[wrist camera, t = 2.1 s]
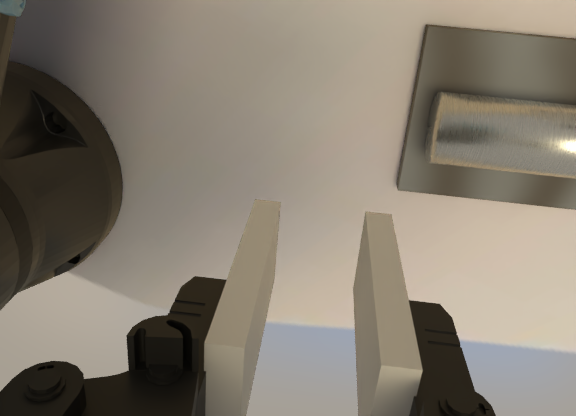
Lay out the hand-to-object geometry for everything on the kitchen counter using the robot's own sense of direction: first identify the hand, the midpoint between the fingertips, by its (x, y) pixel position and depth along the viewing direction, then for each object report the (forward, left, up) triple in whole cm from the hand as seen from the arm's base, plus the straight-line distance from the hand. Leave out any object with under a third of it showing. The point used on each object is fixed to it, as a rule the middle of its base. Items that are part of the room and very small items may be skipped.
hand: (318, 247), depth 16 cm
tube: (+16, 0, -17) cm, 24 cm away
